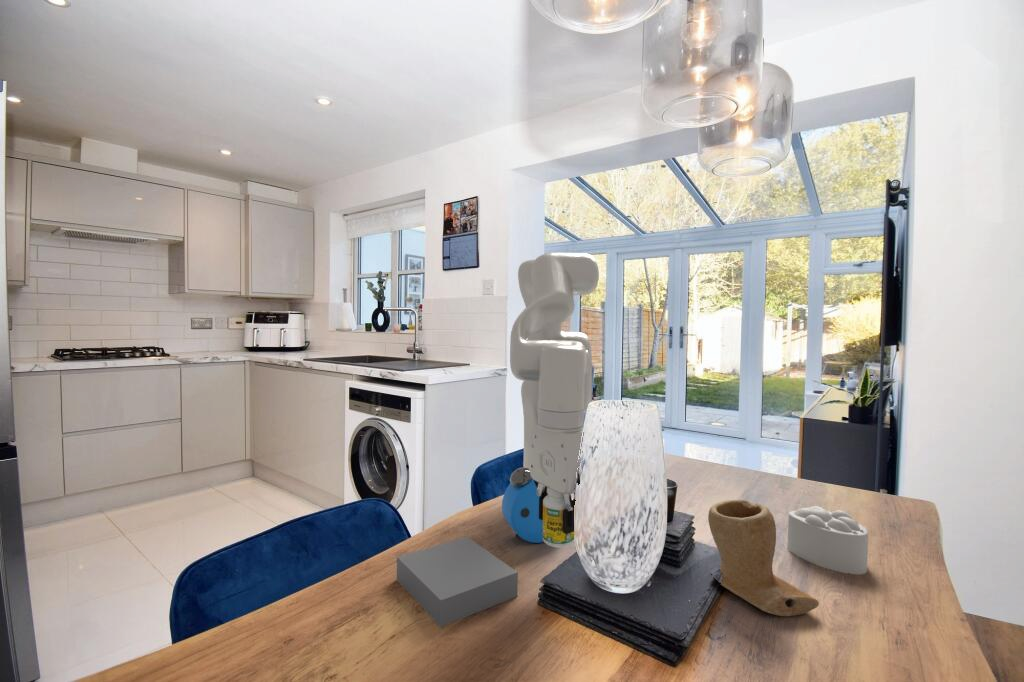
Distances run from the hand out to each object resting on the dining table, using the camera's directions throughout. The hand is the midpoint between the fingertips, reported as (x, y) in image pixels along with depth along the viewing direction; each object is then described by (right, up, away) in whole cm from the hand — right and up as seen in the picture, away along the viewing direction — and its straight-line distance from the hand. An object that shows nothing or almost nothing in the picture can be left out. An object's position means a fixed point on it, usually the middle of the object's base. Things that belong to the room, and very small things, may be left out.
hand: (558, 523), depth 82 cm
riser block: (-17, -11, -1) cm, 20 cm away
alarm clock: (-3, -10, +19) cm, 21 cm away
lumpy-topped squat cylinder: (+54, -11, +12) cm, 56 cm away
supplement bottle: (0, -3, 0) cm, 3 cm away
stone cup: (+32, -12, -2) cm, 34 cm away
